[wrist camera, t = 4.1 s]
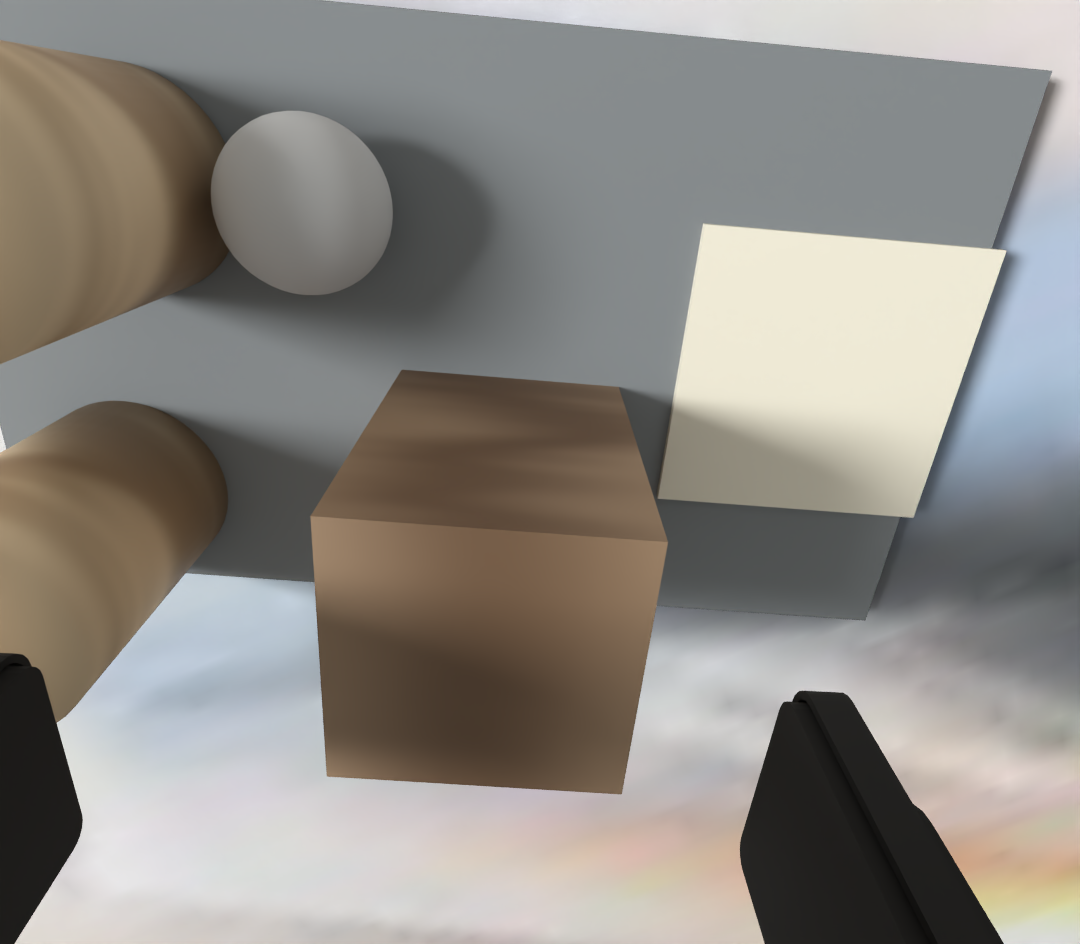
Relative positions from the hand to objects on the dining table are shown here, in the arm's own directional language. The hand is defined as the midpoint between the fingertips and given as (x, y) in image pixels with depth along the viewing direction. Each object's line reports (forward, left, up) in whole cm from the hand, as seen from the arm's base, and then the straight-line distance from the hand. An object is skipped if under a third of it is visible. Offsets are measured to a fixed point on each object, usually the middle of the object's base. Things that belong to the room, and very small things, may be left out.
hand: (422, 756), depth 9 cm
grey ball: (+3, -6, -9) cm, 11 cm away
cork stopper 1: (+7, -6, -9) cm, 13 cm away
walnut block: (-1, 0, -9) cm, 9 cm away
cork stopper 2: (+8, +1, -9) cm, 12 cm away
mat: (0, -3, -9) cm, 10 cm away
